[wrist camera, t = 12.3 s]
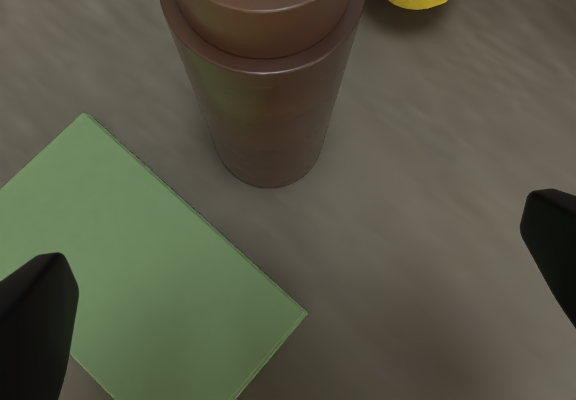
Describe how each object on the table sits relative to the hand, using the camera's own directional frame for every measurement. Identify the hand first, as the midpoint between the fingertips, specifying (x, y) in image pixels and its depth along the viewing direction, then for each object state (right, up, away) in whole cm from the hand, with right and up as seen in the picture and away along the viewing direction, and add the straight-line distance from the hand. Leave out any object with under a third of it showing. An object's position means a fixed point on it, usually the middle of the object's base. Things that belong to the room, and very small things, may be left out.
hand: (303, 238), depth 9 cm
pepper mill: (-1, +4, +13) cm, 14 cm away
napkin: (-7, -3, +12) cm, 14 cm away
